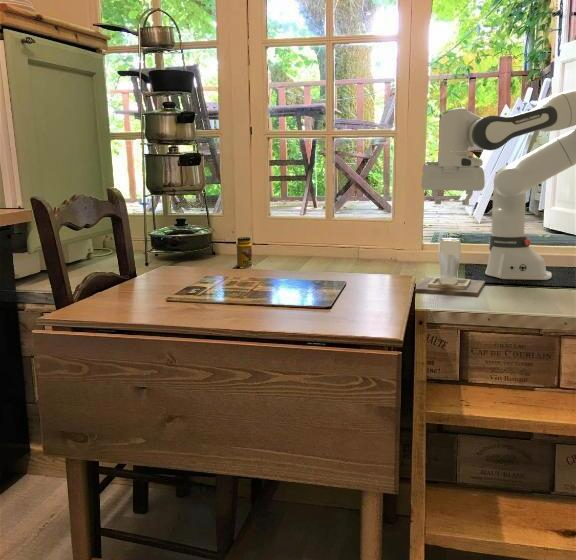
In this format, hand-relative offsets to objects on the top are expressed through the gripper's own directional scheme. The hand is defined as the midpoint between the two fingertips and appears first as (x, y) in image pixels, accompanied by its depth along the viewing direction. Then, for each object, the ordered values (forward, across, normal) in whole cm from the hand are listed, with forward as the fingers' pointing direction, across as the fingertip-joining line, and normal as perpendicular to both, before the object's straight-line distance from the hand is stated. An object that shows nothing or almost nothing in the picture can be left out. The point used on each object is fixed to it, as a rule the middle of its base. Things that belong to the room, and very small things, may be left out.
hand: (451, 204), depth 200 cm
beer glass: (+26, 0, -1) cm, 26 cm away
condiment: (+27, -86, -8) cm, 90 cm away
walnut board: (+27, 0, 0) cm, 27 cm away
